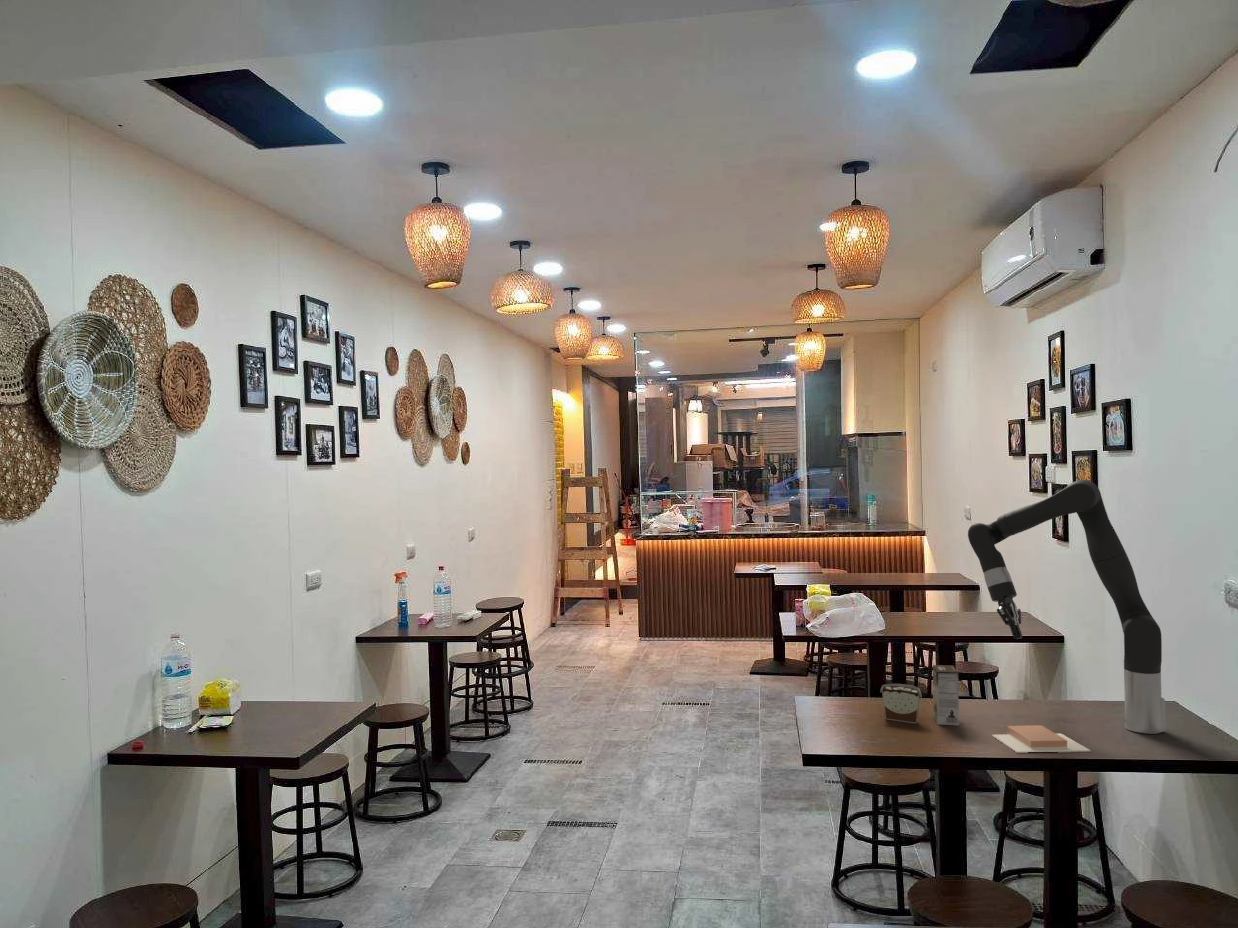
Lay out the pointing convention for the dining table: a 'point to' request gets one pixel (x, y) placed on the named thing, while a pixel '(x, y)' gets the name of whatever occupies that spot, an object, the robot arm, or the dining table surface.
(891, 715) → the food container
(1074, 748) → the mat
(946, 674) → the coffee box
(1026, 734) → the tan flat block
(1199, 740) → the dining table surface
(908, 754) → the dining table surface
